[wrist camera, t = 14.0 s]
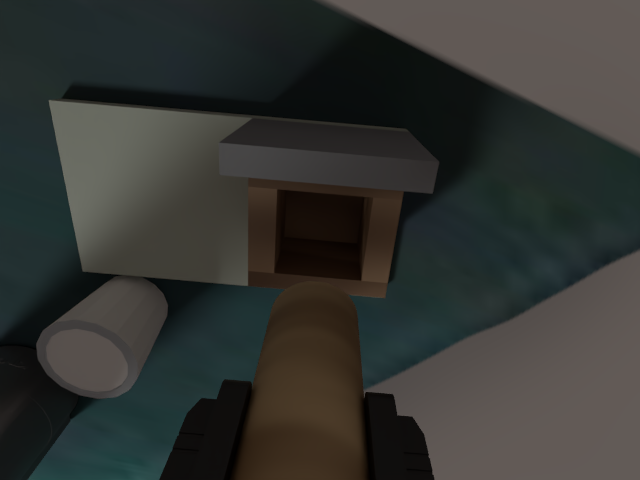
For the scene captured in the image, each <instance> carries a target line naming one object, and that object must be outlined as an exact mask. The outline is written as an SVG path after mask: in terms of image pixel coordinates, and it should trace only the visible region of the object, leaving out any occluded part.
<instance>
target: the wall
mask: <svg viewBox="0 0 640 480" xmlns="http://www.w3.org/2000/svg"><path fill="white" fill-rule="evenodd" d="M438 166H439V161H438V160H437V159H436V158H435V157H434V156H433V155H432V154H431V153H430V152H429V151H428V150H427V149H426V148H425V147H424V146H423V145H422V144H421V143H420V142H419V141H418V140H417V139H416V138H415V137H414V136H413V135H412V134H411V133H410V132H405V131H393V130H382V129H370V128H359V127H348V126H336V125H325V124H313V123H302V122H291V121H279V120H268V119H256V118H252V119H251V120H249V121H248V122H247V123H245V124H244V125H242V126H241V127H240V128H238V129H237V130H236V131H234V132H233V133H231V134H230V135H229V136H227V137H226V138H224V139H223V140H222V141H220V142H219V172H220V175H225V176H236V177H248V178H259V179H270V180H282V181H293V182H305V183H316V184H328V185H339V186H350V187H362V188H373V189H385V190H396V191H407V192H419V193H430V194H433V190H434V185H435V180H436V175H437V171H438Z"/></svg>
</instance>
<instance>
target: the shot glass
mask: <svg viewBox="0 0 640 480" xmlns="http://www.w3.org/2000/svg"><path fill="white" fill-rule="evenodd" d="M167 312H168V304H167V301H166V299H165V296H164V294H163V293H162V292H161V291H160V290H159V289H158V288H157V286H156V285H155V284H153V283H151V282H150V281H148V280H146V279H144V278H142V277H138V276H128V275H122V276H115V277H114V278H112V279H111V280H109V281H108V282H106V283H105V284H103V285H102V286H101V287H99V288H98V289H97V290H96V291H94V292H93V293H92V294H90V295H89V296H88V297H86V298H85V299H84V300H82V301H81V302H80V303H78V304H77V305H76V306H75V307H73V308H72V309H71V310H69V311H68V312H67V313H65V314H64V315H63V316H61V317H60V318H59V319H57V320H56V321H55V322H54V323H52V324H51V325H50V326H48V327H47V328H46V329H44V330H43V331H42V333H41V335H40V337H39V339H38V341H37V343H36V347H37V356H38V360H39V362H40V364H41V365H42V367H43V369H44V370H45V372H46V374H47V375H48V376H49V377H51V378H52V379H53V380H54V381H55V382H56V383H58V384H59V385H60V386H61V387H63V388H65V389H67V390H69V391H71V392H74V393H76V394H78V395H81V396H86V397H91V398H97V399H102V398H111V397H117V396H119V395H121V394H123V393H124V392H126V391H128V390H130V389H131V387H132V386H133V384H134V383H135V381H136V380H137V378H138V376H139V374H140V372H141V370H142V368H143V365H144V363H145V361H146V359H147V357H148V355H149V353H150V351H151V349H152V347H153V345H154V342H155V340H156V338H157V336H158V334H159V332H160V330H161V328H162V326H163V324H164V322H165V319H166V317H167Z"/></svg>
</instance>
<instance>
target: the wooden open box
mask: <svg viewBox="0 0 640 480" xmlns="http://www.w3.org/2000/svg"><path fill="white" fill-rule="evenodd" d="M403 193H404V191H396V190H385V189H373V188H362V187H350V186H339V185H328V184H316V183H305V182H293V181H282V180H270V179H259V178H248V286H255V287H266V288H278V289H287V288H289V287H291V286H293V285H295V284H298V283H302V282H308V281H317V282H324V283H328V284H331V285H333V286H336V287H338V288H339V289H341V290H342V291H344V292H345V293H346V294H347V295H358V296H369V297H381V298H385V295H386V289H387V284H388V278H389V272H390V267H391V261H392V255H393V250H394V244H395V238H396V233H397V227H398V221H399V216H400V210H401V204H402V199H403Z"/></svg>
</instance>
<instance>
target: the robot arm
mask: <svg viewBox="0 0 640 480" xmlns="http://www.w3.org/2000/svg"><path fill="white" fill-rule="evenodd" d="M251 391H252V383H251V382H250V381H238V380H226V379H225V380H224V381H223V383H222V385H221V388H220V391H219V394H218V397H217V399H205V398H201V399H200V400H199V401H198V402H197V403H196V405H195V406H194V407H193V408H192V409H191V410H190V411H189V412H188V413H187V415H186V417H185V420H184V422H183V424H182V427H181V429H180V432H179V436H177V439H176V441H175V444H174V446H173V450H172V452H171V453H170V456H169V458H168V460H167V463H166V465H165V468H164V470H163V472H162V475H161V477H160V479H159V480H229V479H230V475H231V471H232V467H233V463H234V459H235V455H236V451H237V447H238V443H239V439H240V435H241V431H242V427H243V423H244V419H245V415H246V411H247V407H248V403H249V399H250V395H251ZM77 401H78V394H76V393H74V392H71V391H69V390H67V389H65V388H63V387H61V386H60V385H59V384H58V383H56V382H55V381H54V380H53V379H52V378H51V377H49V376H48V375H47V374H46V372H45V370H44V369H43V367H42V365H41V364H40V362H39V360H38V356H37V350H34V349H31V348H28V347H23V346H7V345H6V346H1V347H0V480H28V478H29V477H30V476H31V474H32V473H33V472H34V470H35V469H36V467H37V466H38V465H39V463H40V462H41V461H42V459H43V458H44V456H45V455H46V454H47V452H48V451H49V450H50V448H51V447H52V446H53V444H54V443H55V441H56V440H57V439H58V437H59V436H60V435H61V433H62V432H63V430H64V429H65V428H66V426H67V425H68V424H69V422H70V413H71V412H72V410H73V409H74V408H75V406H76V404H77ZM364 408H365V421H366V434H367V446H368V459H369V472H370V480H434V475H432V467H431V463H430V458H429V457H428V455H429V454H428V450H427V445H426V441H425V437H424V434H423V432H422V431H421V429H420V428H419V426H418V425H417V423H416V422H415V420H414V419H413V417H409V416H397V411H396V405H395V400H394V396H393V394H384V393H372V392H366V393H365V397H364Z"/></svg>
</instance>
